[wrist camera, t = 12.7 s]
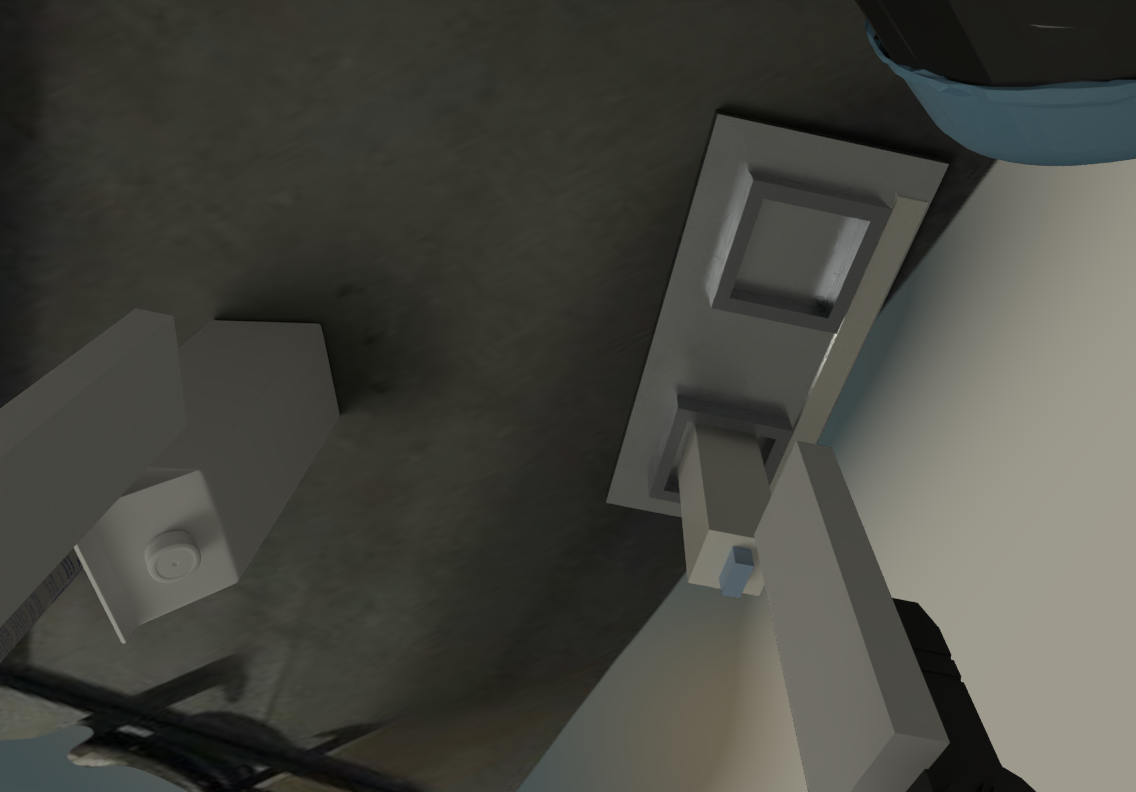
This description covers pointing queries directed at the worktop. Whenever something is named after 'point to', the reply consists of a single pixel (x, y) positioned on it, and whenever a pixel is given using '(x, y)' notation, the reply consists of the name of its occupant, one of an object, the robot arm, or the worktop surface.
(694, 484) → the plug
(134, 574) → the milk carton
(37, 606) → the beverage can
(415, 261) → the worktop surface
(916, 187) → the panel
